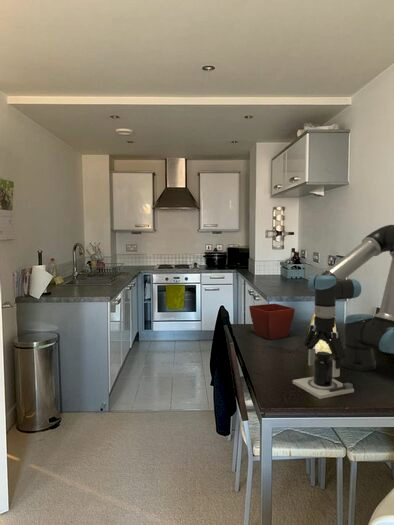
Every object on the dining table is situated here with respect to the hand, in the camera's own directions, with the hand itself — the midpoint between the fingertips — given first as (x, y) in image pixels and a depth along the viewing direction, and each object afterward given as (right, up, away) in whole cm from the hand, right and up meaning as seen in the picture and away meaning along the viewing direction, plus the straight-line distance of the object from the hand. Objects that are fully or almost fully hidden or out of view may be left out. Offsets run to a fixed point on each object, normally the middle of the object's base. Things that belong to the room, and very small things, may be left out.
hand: (323, 370), depth 152 cm
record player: (0, -7, 0) cm, 7 cm away
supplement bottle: (0, -5, +1) cm, 5 cm away
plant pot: (-6, -1, +75) cm, 75 cm away
